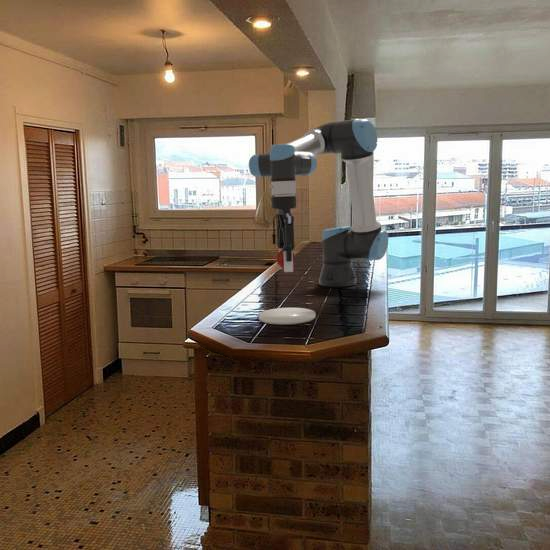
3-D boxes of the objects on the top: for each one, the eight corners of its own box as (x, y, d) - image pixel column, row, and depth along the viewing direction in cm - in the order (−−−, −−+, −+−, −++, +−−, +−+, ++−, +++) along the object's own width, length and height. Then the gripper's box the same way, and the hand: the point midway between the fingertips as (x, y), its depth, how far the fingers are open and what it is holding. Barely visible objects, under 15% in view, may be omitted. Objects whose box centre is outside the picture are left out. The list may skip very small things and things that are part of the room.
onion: (285, 269, 190) (284, 244, 188) (299, 270, 186) (298, 245, 185) (273, 271, 185) (272, 246, 184) (288, 273, 181) (287, 246, 180)
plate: (307, 309, 198) (307, 305, 198) (322, 321, 181) (322, 317, 181) (254, 313, 195) (253, 310, 194) (264, 326, 177) (264, 322, 177)
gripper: (265, 195, 190) (268, 267, 194) (278, 196, 172) (281, 275, 176) (288, 194, 192) (290, 265, 195) (303, 195, 173) (305, 273, 177)
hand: (286, 270), depth 185 cm, fingers closed on onion, 6 cm apart
